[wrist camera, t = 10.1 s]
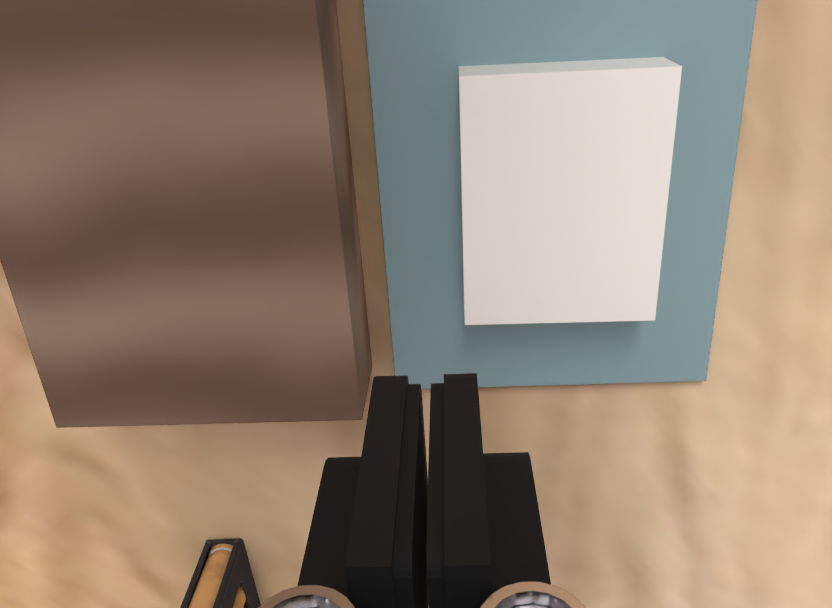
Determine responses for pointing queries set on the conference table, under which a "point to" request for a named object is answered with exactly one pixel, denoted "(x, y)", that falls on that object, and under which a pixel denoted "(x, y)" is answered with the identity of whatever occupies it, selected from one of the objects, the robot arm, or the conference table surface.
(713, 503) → the conference table surface
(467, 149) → the white rectangular block
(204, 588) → the ammunition clip
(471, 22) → the mat
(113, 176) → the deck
